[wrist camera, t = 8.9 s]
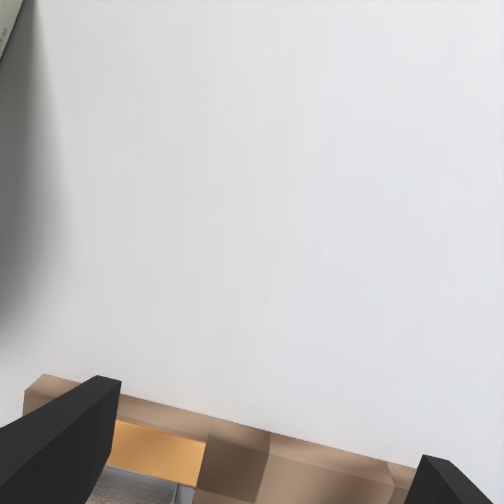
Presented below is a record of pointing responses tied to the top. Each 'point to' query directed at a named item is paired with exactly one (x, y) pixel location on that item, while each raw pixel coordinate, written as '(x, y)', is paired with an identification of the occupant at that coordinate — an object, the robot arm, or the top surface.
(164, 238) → the top surface
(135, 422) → the socket plate
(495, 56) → the top surface
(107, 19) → the top surface
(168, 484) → the steel block
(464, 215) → the top surface
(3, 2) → the skincare box
